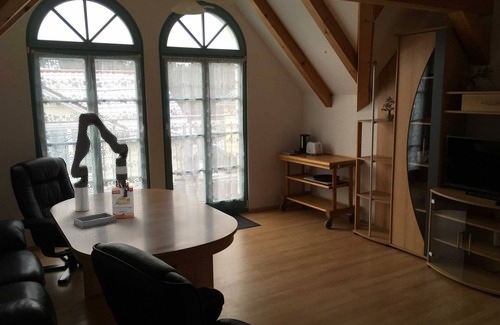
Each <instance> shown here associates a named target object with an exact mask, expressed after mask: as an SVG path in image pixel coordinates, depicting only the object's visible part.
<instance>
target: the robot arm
mask: <svg viewBox="0 0 500 325" xmlns="http://www.w3.org/2000/svg"><path fill="white" fill-rule="evenodd" d="M89 126H95V127H96V128H97V129H98V131H99V134H100V137H101V138H102V140H103V141H104V142H105V143H107V144H108V146H109V148H110V150H112V152H113V153H115V154H116V155H118V156H117V157H116V158H115V187H121V188H122V189H123V191H124V197H127V191H129V187H130V184H129V182H128V181H127V180H128V178H129V177H128V176H129V175H128V166H127V164H128V163H127V162H128V161H127V159H128V155H129V146H128V144H127V143H125V142H118V138H117V136H116V135H115V134H114V133H112V132H111V131H110V130H109V128H107V126H106V124H104V122H103V121H102V119H101V118H100V117H99V116H98V114H96V113H95V112H94V111H86V112H82V113H80V114H79V117H78V126H77V128H78V129H77V130H78V131H77V137H76V142H75V148H74V150H75V151H74V154H73V159H72V163H71V168H70V176H71V178H73V179H78V180H77V181H76V182H74V183H73V188H74V203H75V204H74V205H75V211H76V212H86V211H89V210H90V201H89V200H90V199H89V168H88V166H87V165H86V164H81V162H82V161H83V160H84V159H85V158H86V156H87V155H88V154H89V153H90V149H91V140H90V138H89V135H88V129H89ZM79 178H80V179H79ZM127 188H128V189H127Z"/></svg>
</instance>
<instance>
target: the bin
mask: <svg viewBox="0 0 500 325" xmlns="http://www.w3.org/2000/svg"><path fill="white" fill-rule="evenodd" d="M72 219H73V225H75V226H77V227H78V228H79V229H83V230H84V229H88V228H93V226H94V227H98V226H103V225H107V224H113V223H116V222H117V219H116V216H114V215H113V213H109V212H99V213H94V214H88V215H83V216H79V217H78V216H77V217H73V218H72Z"/></svg>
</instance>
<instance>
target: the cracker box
mask: <svg viewBox="0 0 500 325" xmlns="http://www.w3.org/2000/svg"><path fill="white" fill-rule="evenodd" d="M127 189H128V188H127ZM111 208H112V211H111V212H112V215H114V216H116V220H117V219H129V218H130V219H131V218H132V219H133V218H134V217H135V202H134V186H129V191H127V197H124V191H123V189H122V188H121V187H116V186H114V187H113V186H112V187H111Z"/></svg>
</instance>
